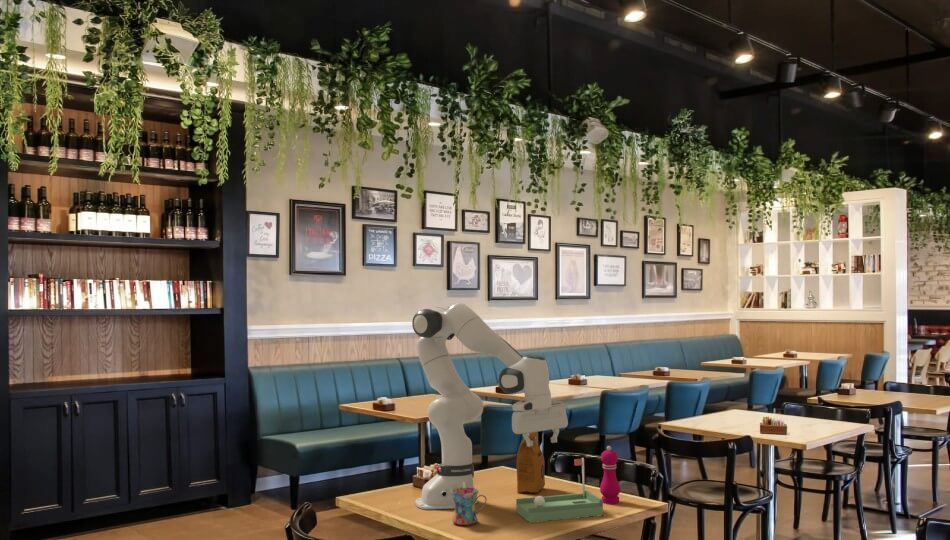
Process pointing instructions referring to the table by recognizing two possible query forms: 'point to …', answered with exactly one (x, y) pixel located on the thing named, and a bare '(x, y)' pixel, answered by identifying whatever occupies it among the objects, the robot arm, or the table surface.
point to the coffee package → (530, 467)
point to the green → (562, 505)
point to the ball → (539, 501)
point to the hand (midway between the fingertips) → (542, 444)
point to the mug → (465, 505)
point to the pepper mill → (609, 477)
